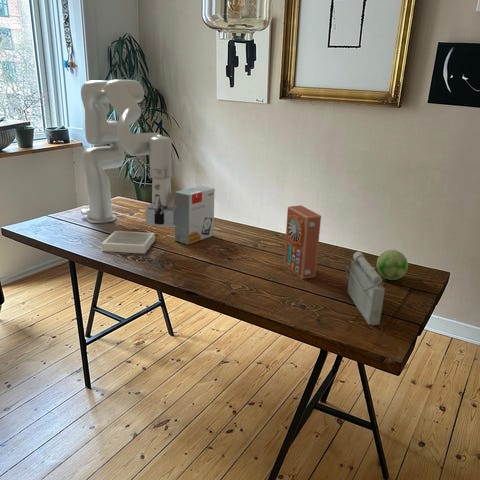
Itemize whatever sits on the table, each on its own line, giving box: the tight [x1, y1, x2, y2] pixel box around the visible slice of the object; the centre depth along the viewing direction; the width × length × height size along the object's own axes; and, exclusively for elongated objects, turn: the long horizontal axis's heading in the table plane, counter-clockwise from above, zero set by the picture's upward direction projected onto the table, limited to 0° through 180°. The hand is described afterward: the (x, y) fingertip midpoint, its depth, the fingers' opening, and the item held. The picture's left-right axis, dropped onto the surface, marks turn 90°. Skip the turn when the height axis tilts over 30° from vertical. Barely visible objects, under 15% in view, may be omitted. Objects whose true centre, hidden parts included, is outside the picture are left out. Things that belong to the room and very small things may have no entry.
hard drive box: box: [173, 185, 215, 246], centre depth 179 cm, size 16×8×20 cm, turn 143°
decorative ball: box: [376, 249, 409, 281], centre depth 150 cm, size 10×10×10 cm
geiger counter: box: [345, 251, 386, 326], centre depth 132 cm, size 14×6×25 cm
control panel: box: [283, 205, 322, 280], centre depth 152 cm, size 21×7×15 cm
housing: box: [145, 202, 177, 228], centre depth 165 cm, size 10×6×6 cm, turn 86°
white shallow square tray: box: [101, 230, 156, 255], centre depth 172 cm, size 16×14×3 cm
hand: (161, 220), depth 166 cm, fingers closed on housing, 6 cm apart
